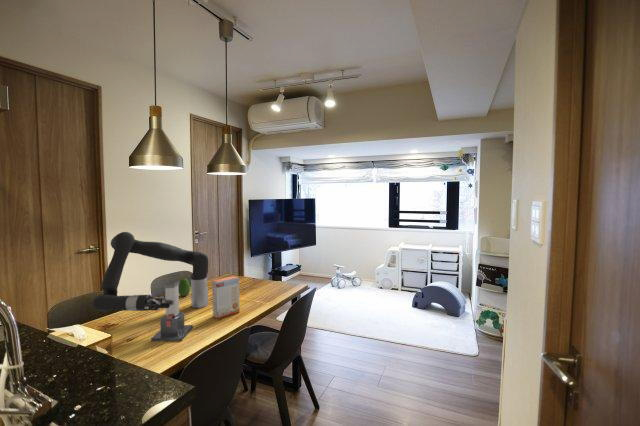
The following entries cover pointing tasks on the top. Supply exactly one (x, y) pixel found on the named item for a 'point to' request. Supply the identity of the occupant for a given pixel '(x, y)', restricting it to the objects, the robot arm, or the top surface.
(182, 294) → the avocado
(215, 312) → the cracker box
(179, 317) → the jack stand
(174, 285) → the column
